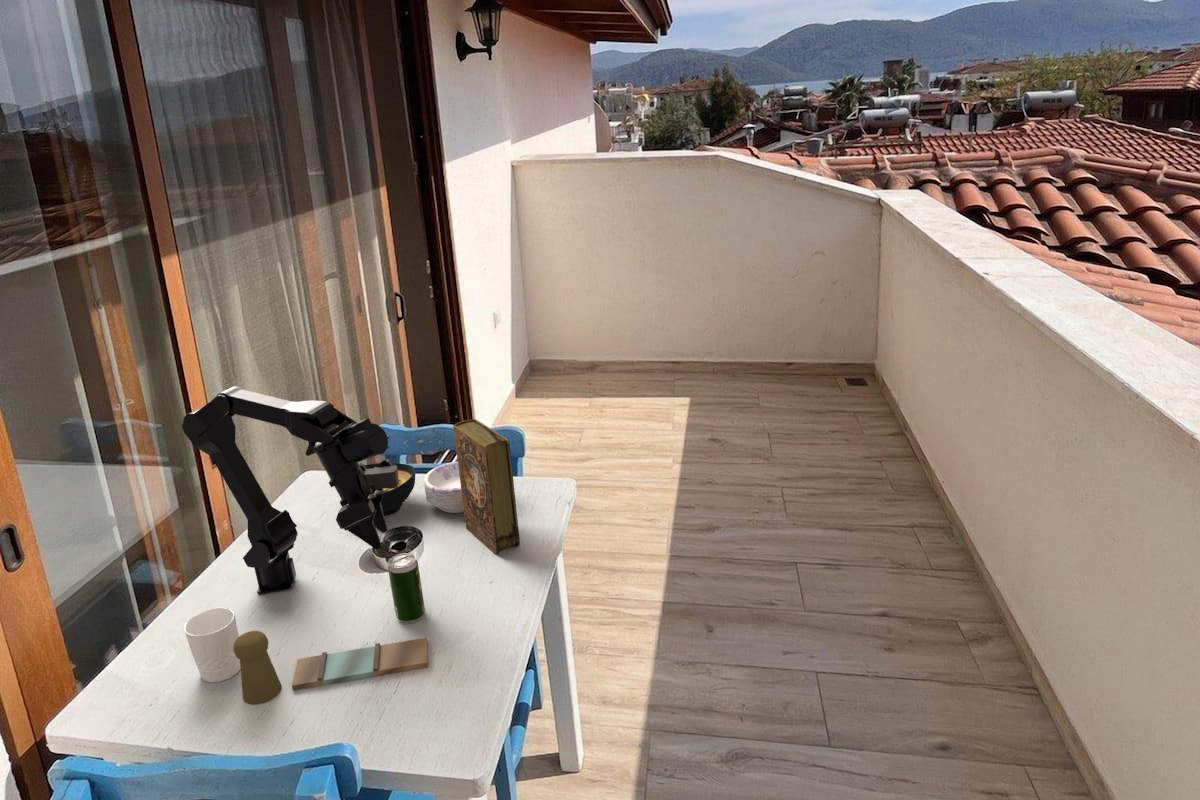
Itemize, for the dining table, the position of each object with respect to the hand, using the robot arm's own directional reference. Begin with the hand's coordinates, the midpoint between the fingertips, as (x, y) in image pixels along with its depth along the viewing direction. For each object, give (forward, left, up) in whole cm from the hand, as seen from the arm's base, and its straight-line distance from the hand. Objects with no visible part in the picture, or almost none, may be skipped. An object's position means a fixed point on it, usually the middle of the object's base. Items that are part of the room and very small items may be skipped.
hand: (382, 540), depth 153 cm
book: (+21, +19, -14) cm, 31 cm away
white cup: (-28, -13, -14) cm, 34 cm away
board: (-4, -19, -13) cm, 23 cm away
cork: (-20, -21, -14) cm, 32 cm away
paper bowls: (+15, +37, -14) cm, 42 cm away
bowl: (-3, +40, -14) cm, 42 cm away
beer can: (+4, -6, -14) cm, 15 cm away
